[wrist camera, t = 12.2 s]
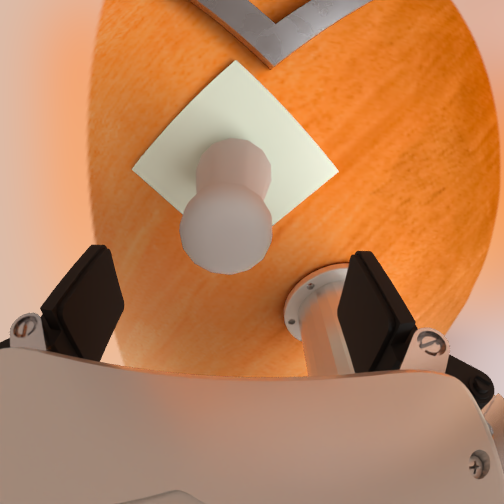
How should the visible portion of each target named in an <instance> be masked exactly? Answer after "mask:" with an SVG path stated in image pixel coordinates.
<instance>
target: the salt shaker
mask: <svg viewBox="0 0 504 504" xmlns="http://www.w3.org/2000/svg"><path fill="white" fill-rule="evenodd" d="M271 181H272V180H271V164H270V162H269V160H268V159H267V157H266V155H265V153H264V152H263V150H262V149H260V148H259V147H257V146H256V145H254V144H253V143H251V142H250V141H248V140H243V139H236V138H229V139H226V140H222V141H219V142H216V143H213V144H212V145H211V146H210V147H209V148H208V149H207V150H206V151H205V152H204V153H203V154H202V155H201V158H200V161H199V163H198V166H197V169H196V193H197V194H196V195H195V196H194V197H193V198H192V199H191V200H190V201H189V202H188V204H187V205H186V207H185V210H184V213H183V216H182V219H181V223H180V230H179V232H180V236H181V241H182V245H183V249H184V250H185V252H186V253H187V254H188V256H189V257H190V258H191V260H192V261H193V262H194V263H195V264H197V265H198V266H200V267H202V268H204V269H206V270H208V271H210V272H213V273H220V274H228V275H231V274H235V273H239V272H243V271H247V270H249V269H250V268H252V267H253V266H255V265H256V264H257V263H259V262H260V261H261V260H263V258H264V256H265V254H266V252H267V250H268V248H269V246H270V244H271V240H272V216H271V213H270V211H269V209H268V208H267V206H266V204H265V203H264V199H265V196H266V193H267V191H268V188H269V186H270V183H271Z"/></svg>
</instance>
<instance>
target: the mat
mask: <svg viewBox="0 0 504 504" xmlns="http://www.w3.org/2000/svg"><path fill="white" fill-rule="evenodd" d="M229 138H236V139H243V140H248V141H250V142H251V143H253V144H254V145H256V146H257V147H259V148H260V149H262V150H263V152H264V153H265V155H266V157H267V159H268V160H269V162H270V164H271V180H272V181H271V183H270V186H269V188H268V191H267V193H266V196H265V199H264V203H265V204H266V206H267V208H268V209H269V211H270V213H271V216H272V226H273V225H274V224H275V223H277V222H278V221H279V220H280V219H281V218H283V217H284V216H285V215H286V214H288V213H289V212H290V211H291V210H292V209H294V208H295V207H296V206H297V205H298V204H300V203H301V202H302V201H303V200H305V199H306V198H307V197H308V196H309V195H311V194H312V193H313V192H314V191H316V190H317V189H318V188H319V187H320V186H322V185H323V184H324V183H325V182H327V181H328V180H329V179H330V178H332V177H333V176H334V175H335V174H336V173H338V172H339V171H338V170H337V168H336V167H335V166H334V165H333V163H332V162H331V161H330V160H329V158H328V157H327V156H326V155H325V153H324V152H323V151H322V150H321V149H320V147H319V146H318V145H317V144H316V143H315V141H314V140H313V139H312V138H311V137H310V136H309V134H308V133H307V132H306V131H305V130H304V129H303V128H302V126H301V125H300V124H299V123H298V122H297V121H296V120H295V119H294V118H293V116H292V115H291V114H290V113H289V112H288V111H287V110H286V109H285V108H284V107H283V106H282V105H281V104H280V103H279V101H278V100H277V99H276V98H275V97H274V96H273V95H272V94H271V93H270V92H269V91H268V90H267V89H266V88H265V87H264V86H263V85H262V84H261V83H260V82H259V81H258V80H257V79H256V78H255V77H254V76H253V75H252V74H251V73H249V72H248V71H247V70H246V69H245V68H244V67H243V66H242V65H241V64H240V63H239V62H238V61H237V60H235V61H234V62H233V63H232V64H230V65H229V66H228V67H227V68H226V69H225V70H224V71H223V72H221V73H220V74H219V75H218V76H217V77H216V78H215V79H214V80H213V81H212V82H211V83H210V84H208V85H207V86H206V87H205V88H204V89H203V90H202V91H201V92H200V93H199V94H198V95H197V96H196V97H195V98H194V99H193V100H192V101H191V102H190V103H189V104H188V105H187V106H186V107H185V108H184V109H183V110H182V111H181V112H180V113H179V115H178V116H177V117H176V118H175V119H174V120H173V121H172V122H171V123H170V124H169V125H168V126H167V128H166V129H165V130H164V131H163V132H162V133H161V134H160V135H159V137H158V138H157V139H156V140H155V141H154V142H153V144H152V145H151V146H150V147H149V148H148V149H147V151H146V152H145V153H144V154H143V156H142V157H141V158H140V159H139V160H138V162H137V163H136V164H135V166H134V167H133V168H132V170H133V171H134V172H135V173H136V174H137V175H139V176H140V177H141V178H142V179H143V180H144V181H145V182H146V183H148V184H149V185H150V186H151V187H152V188H153V189H154V190H155V191H157V192H158V193H159V194H160V195H161V196H162V197H163V198H165V199H166V200H167V201H168V202H169V203H170V204H171V205H173V206H174V207H175V208H176V209H177V210H178V211H179V212H181V213H182V214H183V213H184V210H185V207H186V205H187V204H188V202H189V201H190V200H191V199H192V198H193V197H194V196H195V195H196V194H197V193H196V169H197V166H198V163H199V161H200V158H201V155H202V154H203V153H204V152H205V151H206V150H207V149H208V148H209V147H210V146H211V145H212V144H213V143H216V142H219V141H222V140H226V139H229Z"/></svg>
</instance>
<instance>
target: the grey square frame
mask: <svg viewBox="0 0 504 504" xmlns="http://www.w3.org/2000/svg"><path fill="white" fill-rule="evenodd" d="M189 1H190V2H192V3H193V4H194V5H196V6H197V7H198V8H200V9H201V10H202V11H204V12H205V13H206V14H208V15H209V16H210V17H212V18H213V19H214V20H215V21H217V22H218V23H219V24H220V25H221V26H223V27H224V28H225V29H226V30H228V31H229V32H230V33H231V34H232V35H233V36H235V37H236V38H237V39H238V40H239V41H240V42H241V43H243V44H244V45H245V46H246V47H247V48H248V49H249V50H250V51H251V52H253V53H254V54H255V55H256V56H257V57H258V58H259V59H260V60H261V61H262V62H263V63H264V64H265V65H266V66H267V67H268V68H269V69H270V70H271V69H272V68H274V67H275V66H276V65H277V64H279V63H280V62H281V61H283V60H284V59H285V58H286V57H288V56H289V55H290V54H292V53H293V52H294V51H296V50H297V49H298V48H300V47H301V46H302V45H304V44H305V43H307V42H308V41H309V40H311V39H312V38H314V37H315V36H317V35H318V34H319V33H321V32H322V31H324V30H325V29H327V28H328V27H330V26H331V25H333V24H334V23H336V22H338V21H339V20H341V19H342V18H344V17H345V16H347V15H349V14H350V13H352V12H354V11H355V10H357V9H359V8H360V7H362V6H364V5H366V4H367V3H369V2H371V1H373V0H311V1H309V2H308V3H306V4H305V5H303V6H302V7H300V8H298V9H297V10H295V11H294V12H292V13H291V14H289V15H288V16H286V17H285V18H284V19H282V20H281V21H279V22H278V23H276V24H275V23H274V22H273V21H272V20H271V19H269V18H268V17H267V16H266V15H265V14H264V13H262V12H261V11H260V10H259V9H258V8H257V7H255V6H254V5H253V4H252V3H250V2H249V1H248V0H189Z"/></svg>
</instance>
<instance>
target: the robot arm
mask: <svg viewBox="0 0 504 504" xmlns="http://www.w3.org/2000/svg"><path fill="white" fill-rule="evenodd" d="M40 309H41V311H42V313H43V315H42V316H41V317H40V316H39V315H38V314H35V313H28V314H24V315H22V316H20V317H19V318H18V319H17V320H16V321H15V322H14V323H13V324H12V326H11V328H10V338H9V339H7V340H5V341H3V342H0V504H504V398H503V397H502V396H501V395H500V394H499V393H498V394H497V395H496V396H495V395H494V386H493V383H492V381H491V379H490V378H489V377H488V376H487V375H486V374H484V373H483V372H482V371H480V370H478V369H476V368H474V367H472V366H470V365H468V364H466V363H464V362H463V361H461V360H459V359H457V358H455V357H453V356H451V355H449V353H450V345H449V342H448V340H447V339H446V337H445V336H444V335H443V334H442V333H440V332H439V331H437V330H435V329H432V328H420V329H417V327H416V325H415V323H416V322H415V320H414V318H413V317H412V315H411V313H410V312H409V310H408V308H407V306H406V305H405V303H404V301H403V300H402V298H401V296H400V295H399V293H398V292H397V290H396V288H395V287H394V285H393V284H392V282H391V280H390V279H389V277H388V276H387V274H386V273H385V271H384V270H383V268H382V266H381V265H380V263H379V262H378V260H377V259H376V257H375V256H374V254H373V253H372V252H371V251H357V252H356V253H355V255H351V258H350V262H349V263H342V264H335V265H330V266H327V267H324V268H321V269H319V270H317V271H315V272H312V273H311V274H309V275H308V276H306V277H305V278H303V279H302V280H301V281H300V282H299V283H298V284H297V285H296V286H295V287H294V288H293V289H292V291H291V292H290V293H289V295H288V297H287V299H286V301H285V306H284V320H285V325H286V327H287V329H288V331H289V332H290V333H291V334H292V336H294V337H295V338H296V339H298V340H300V341H302V344H303V349H304V355H305V360H306V366H307V371H308V376H307V377H228V376H209V375H195V374H183V373H173V372H163V371H155V370H147V369H140V368H133V367H126V366H120V365H114V364H108V363H103V362H100V360H101V357H102V355H103V353H104V351H105V348H106V346H107V344H108V342H109V339H110V337H111V335H112V333H113V331H114V329H115V327H116V324H117V322H118V320H119V318H120V316H121V314H122V312H123V310H124V300H123V297H122V293H121V290H120V286H119V283H118V279H117V275H116V272H115V268H114V264H113V260H112V256H111V252H110V250H109V249H107V247H106V246H105V245H91V246H90V247H89V248H88V249H87V250H86V252H85V253H84V254H83V255H82V256H81V257H80V258H79V260H78V261H77V262H76V263H75V264H74V265H73V267H72V268H71V269H70V270H69V272H68V273H67V274H66V275H65V276H64V278H63V279H62V280H61V281H60V283H59V284H58V285H57V286H56V288H55V289H54V290H53V292H52V293H51V294H50V296H49V297H48V298H47V300H46V301H45V302H44V304H43V305H42V306H41V308H40Z"/></svg>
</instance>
